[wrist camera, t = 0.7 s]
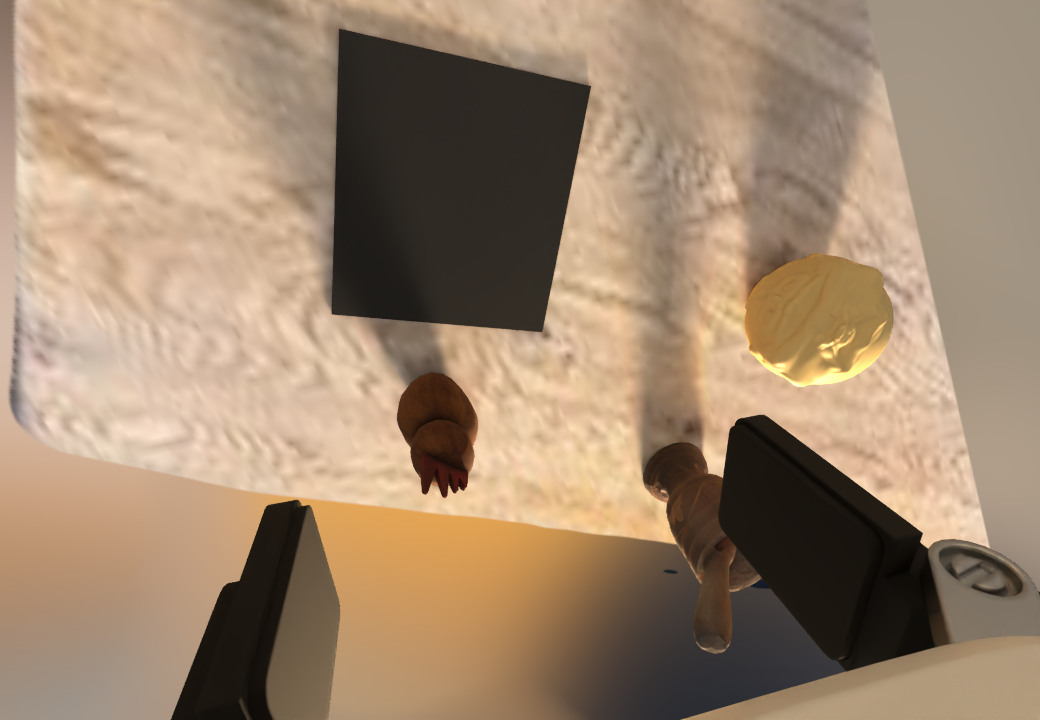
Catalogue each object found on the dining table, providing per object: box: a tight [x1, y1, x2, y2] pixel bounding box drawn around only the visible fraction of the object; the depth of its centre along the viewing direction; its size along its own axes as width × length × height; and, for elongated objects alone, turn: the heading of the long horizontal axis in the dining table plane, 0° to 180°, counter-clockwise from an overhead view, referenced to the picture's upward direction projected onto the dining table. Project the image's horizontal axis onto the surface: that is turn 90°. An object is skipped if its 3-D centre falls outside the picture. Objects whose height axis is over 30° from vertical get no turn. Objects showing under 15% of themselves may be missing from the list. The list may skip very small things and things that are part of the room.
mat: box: [332, 29, 591, 332], centre depth 39 cm, size 20×18×1 cm
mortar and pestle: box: [643, 443, 762, 653], centre depth 48 cm, size 12×9×20 cm
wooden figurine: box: [397, 373, 478, 498], centre depth 39 cm, size 7×6×15 cm
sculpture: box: [745, 253, 893, 387], centre depth 46 cm, size 11×12×11 cm
